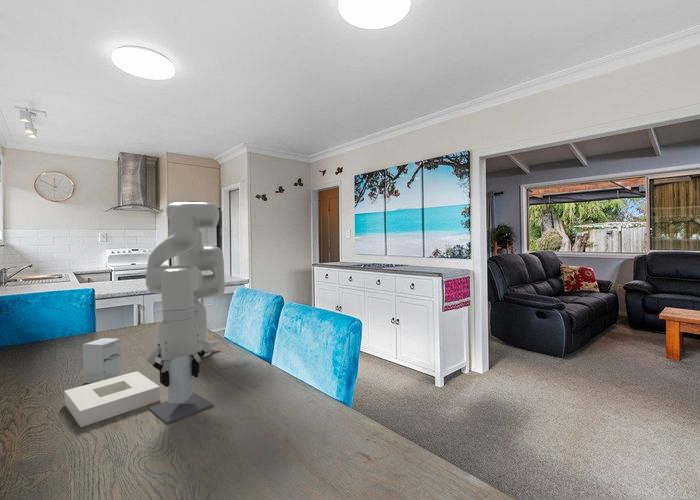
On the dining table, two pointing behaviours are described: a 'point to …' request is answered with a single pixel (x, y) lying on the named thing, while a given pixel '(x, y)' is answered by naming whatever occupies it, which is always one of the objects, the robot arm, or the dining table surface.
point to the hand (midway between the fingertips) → (180, 380)
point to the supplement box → (101, 360)
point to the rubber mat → (180, 408)
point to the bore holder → (110, 397)
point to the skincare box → (180, 379)
